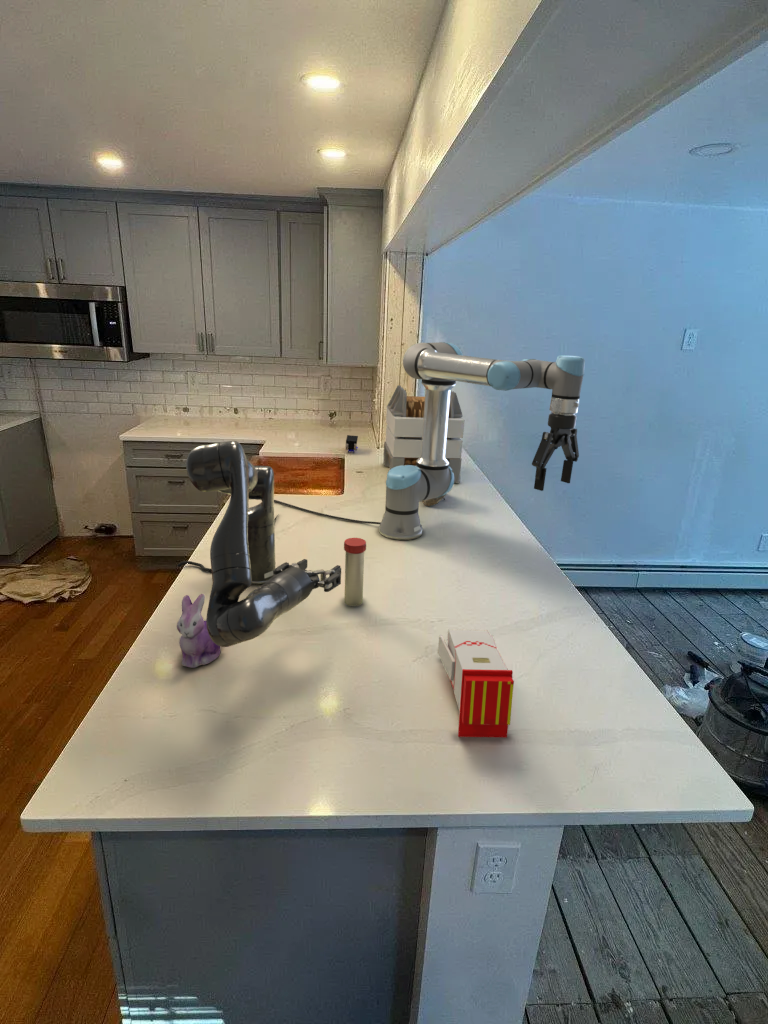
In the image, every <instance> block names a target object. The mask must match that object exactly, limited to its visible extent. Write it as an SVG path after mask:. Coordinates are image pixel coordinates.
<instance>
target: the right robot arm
mask: <svg viewBox="0 0 768 1024" xmlns="http://www.w3.org/2000/svg"><path fill="white" fill-rule="evenodd" d="M585 365H586V360H585V358H584V357H582V356H578V355H566V354H565V355H564V354H563V355H558V356H557V357H556V360H555V361H549V360H541V359H536V358H524V359H521V360H506V359H505V360H504V359H503V360H502V359H496V358H487V357H479V356H471V355H464V354H463V352H462V350H461V349H460V347H459V346H457V345H456V344H455V343H451V342H445V341H443V342H442V341H441V342H440V341H439V342H438V341H437V342H417V343H414V344H412V345H411V346H409V347H408V348H407V350H406V351H405V353H404V355H403V358H402V366H403V369H404V372H405V373H406V374H407V375H408V376H409V377H411V378H412V379H415V380H421V385H422V386H423V387H424V389H425V392H424V397H425V404H424V419H423V434H422V449H421V457H420V458H418V459H417V461H416V466H413V465H401V466H396V467H394V468H392V469H390V468H389V470H388V472H387V474H386V479H385V504H384V505H385V507H384V508H385V509H384V513H383V515H382V519H381V522H380V521H368V520H367V521H366V520H358V519H352V518H347V517H341V516H336V515H331V514H327V513H322V512H317V511H314V510H310V509H307V508H303V507H299V506H297V505H293V504H291V503H290V504H289V503H286V502H283V501H280V500H277V499H274V503H277V504H280V505H283V506H287V507H290V508H293V509H297V510H300V511H302V512H307V513H311V514H313V515H314V514H315V515H318V516H323V517H327V518H332V519H335V520H336V519H337V520H342V521H347V522H353V523H359V524H369V525H379V526H378V533H379V534H380V535H381V536H382V537H385V538H387V539H389V540H395V541H410V540H415V539H418V538H420V537H421V536H422V535H423V525H422V524H421V518H420V515H419V507H420V506H419V505H420V502H422V501H424V500H428V499H432V498H438V497H441V496H443V495H445V494H447V495H448V493H450V492H451V490H452V489H453V488H454V487H453V486H454V484H455V483H454V473H452V469H451V467H450V466H449V462H448V461H447V459H446V458H445V453H446V441H447V428H448V416H449V404H450V392H451V391H452V389H453V388H454V387H455V386H456V384H457V382H461V383H465V384H473V385H479V386H487V387H491V388H492V389H494V390H496V391H503V392H504V391H511V390H520V389H532V388H533V389H534V388H539V389H546V390H551V398H550V404H549V413H548V418H547V419H548V420H547V426H548V427H549V428H550V431H549V432H548V431H543V432H542V435H541V440H540V442H539V445H538V447H537V449H536V452H535V454H534V457H533V460H532V461H531V466H533V467H535V475H534V477H535V478H534V485H533V489H534V490H537V491H539V492H543V491H544V489H545V484H546V483H545V482H546V476H547V468H546V466H547V465H548V463H549V461H550V459H551V457H552V456H553V454H554V453H555V451H556V450H557V449H558V448H560V447H561V449H562V452H563V455H564V458H565V459H563V463H562V468H561V469H562V470H561V475H560V482H562V483H566V484H571V478H572V472H573V466H574V463H576V462H578V461H579V457H580V453H579V444H578V428H576V423H577V419H578V416H577V414H578V412H579V411H578V410H579V406H580V397H581V391H582V385H583V380H584V376H585Z"/></svg>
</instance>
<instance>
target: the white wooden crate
mask: <svg viewBox="0 0 768 1024" xmlns="http://www.w3.org/2000/svg"><path fill="white" fill-rule="evenodd" d="M407 394H408V393H407V390H406V389H404V388H403V387H402V385H399V384H398V385H397V386H396V388H395V390H394V392H393V394H392V395H391V398H390V400H389V402H388V404H387V405H386V413H385V414H386V415H385V423H386V428H385V438H384V442H383V466H384V467H388V468H389V470H390V469H392V468H394V467H396V466H401V465H404V466H405V465H413V466H416V461H417V459H418V458H420V457H421V449H422V434H423V419H424V404H425V396H415V395H414V396H413V395H412V396H411V395H407ZM464 429H465V419H464V418H463V411H462V408H461V405H460V402H459V398H458V395H457V392H455V391H453V390H451V392H450V404H449V416H448V428H447V441H446V453H445V458H446V459H447V461H448V462H449V466H450V467H451V469H452V473H454V484H455V483H456V484H459V483H461V472H462V461H463V460H462V453H463V442H464V441H463V440H462V439H463V438H464V431H465V430H464Z"/></svg>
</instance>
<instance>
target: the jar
mask: <svg viewBox="0 0 768 1024" xmlns="http://www.w3.org/2000/svg"><path fill="white" fill-rule="evenodd" d="M344 552H345V553H344V554H345V556H344V557H345V558H344V564H345V565H344V598H343V599H344V600H343V601H344V604H345V605H347V606H350V607H359V606H361V605H362V604H363V600H364V575H365V573H364V571H365V551H364V552H363V553H358V554H352V553H348V552H346V551H344Z"/></svg>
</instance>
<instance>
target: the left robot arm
mask: <svg viewBox="0 0 768 1024" xmlns="http://www.w3.org/2000/svg"><path fill="white" fill-rule="evenodd" d="M185 462H186V464H185V467H186V473H187V476H188V479H189V481H190V482H191V484H192V485H193V486H194V487H195V488H196V489H197V490H198V491H200V492H201V493H211V492H217V493H221V494H225V495H229V496H230V498H229V502H228V505H227V508H226V510H225V514H224V515H223V517H222V519H221V521H220V523H219V525H218V527H217V528H216V530H215V533H213V534H214V535H213V537H212V540H211V544H210V549H209V550H210V551H209V556H210V557H209V559H210V567H211V568H208V567H205V566H204V565H203V564H202V563H199V562H196V561H191V560H184V561H181V562H179V563H178V564H177V566H176V567H181V566H183V565H192V566H196V567H199V568H200V569H201V570H202V571H204V572H210V573H211V581H212V583H211V589H210V592H209V593H210V594H209V599H208V604H207V611H206V619H205V621H206V625H207V631H208V634H209V636H210V638H211V640H212V641H213V642H214V643H215V644H216V645H218V646H221V647H220V648H228V647H232V646H235V645H238V644H241V643H244V642H247V641H250V640H253V639H256V638H257V637H259V636H261V635H262V634H264V633H265V632H266V631H267V630H268V629H269V628H270V626H271V624H272V623H274V621H275V620H276V619H278V618H279V617H281V616H282V615H284V614H285V613H287V612H289V611H291V610H292V609H294V608H295V607H296V606H298V605H300V603H302V602H303V601H304V600H306V599H308V597H309V596H310V595H311V593H312V592H313V590H315V589H318V588H323V592H324V593H330V592H331V591H332V590H334V589H335V588H336V587H339V586H340V585H341V584H342V567H341V565H338V564H336V565H335V566H334V567H331V569H328V570H324V569H315V570H312V569H311V570H310V569H309V570H307V569H308V559H306V558H303V559H301V560H299V561H298V562H292V563H291V564H290V563H289V562H287V561H286V562H283V563H281V564H279V566H277V567H276V537H275V536H276V534H275V533H276V532H275V522H274V519H275V502H274V500H275V472H274V469H273V468H272V467H271V466H270V465H254V464H253V463H252V462H251V461H250V460H249V459H247V455H246V451H245V450H244V448H243V446H242V444H241V443H240V442H239V441H237V440H227V441H221V442H215V443H210V444H204V445H198V446H197V447H194V448H192V449H191V450H190V451H189V453H188V454H187V458H186V461H185ZM249 500H257V501H258V500H260V501H261V502H260V503H258V504H256V505H254V506H251V507H250V505H249V502H250V501H249ZM187 563H188V564H187ZM319 575H320V576H319ZM327 576H328V577H327ZM251 585H259V586H258V587H256V588H254V589H253V590H252V591H251V592H249V593H248V595H247V596H246V597H244V598H243V599H240V596H241V595H242V594H243V593H244V592H245V591H246V590H248V589H249V588H250V587H251ZM239 599H240V600H239Z"/></svg>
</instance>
